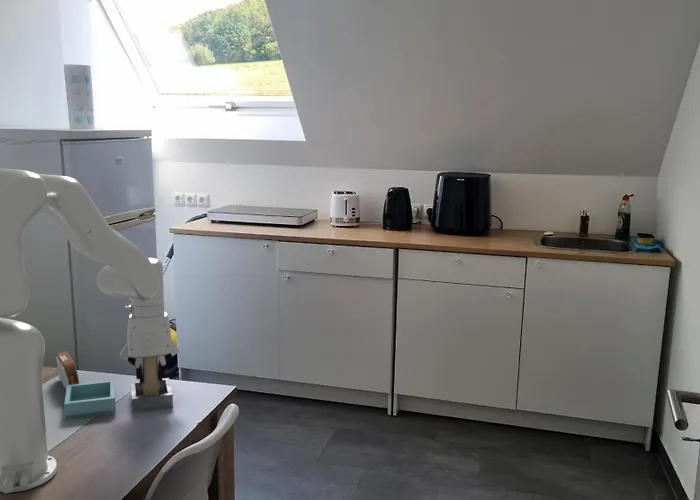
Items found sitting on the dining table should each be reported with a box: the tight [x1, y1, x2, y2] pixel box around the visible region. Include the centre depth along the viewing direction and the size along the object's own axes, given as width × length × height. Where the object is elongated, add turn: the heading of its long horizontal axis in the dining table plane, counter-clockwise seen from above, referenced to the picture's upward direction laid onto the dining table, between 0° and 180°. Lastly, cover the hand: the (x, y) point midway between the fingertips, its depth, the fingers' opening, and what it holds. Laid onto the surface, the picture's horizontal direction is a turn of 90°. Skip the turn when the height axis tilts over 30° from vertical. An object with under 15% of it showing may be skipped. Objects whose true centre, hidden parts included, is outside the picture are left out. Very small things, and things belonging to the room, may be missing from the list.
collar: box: [130, 377, 174, 414], centre depth 161 cm, size 10×9×4 cm
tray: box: [64, 379, 117, 421], centre depth 157 cm, size 11×11×4 cm
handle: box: [142, 356, 160, 396], centre depth 159 cm, size 5×6×15 cm
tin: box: [55, 350, 80, 391], centre depth 167 cm, size 15×3×8 cm, turn 35°
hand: (150, 379), depth 160 cm, fingers closed on handle, 4 cm apart
